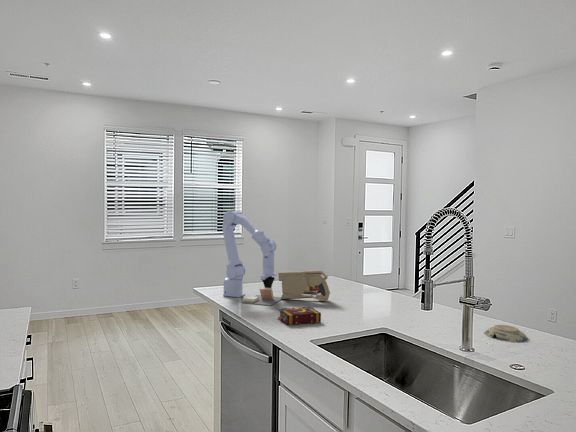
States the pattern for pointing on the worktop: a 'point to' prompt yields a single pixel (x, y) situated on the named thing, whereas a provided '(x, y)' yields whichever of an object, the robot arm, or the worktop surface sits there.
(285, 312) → the decorative book
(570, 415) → the worktop surface
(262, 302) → the mat
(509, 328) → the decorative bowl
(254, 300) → the flat tile
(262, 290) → the tile
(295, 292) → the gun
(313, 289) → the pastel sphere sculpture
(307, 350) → the worktop surface
